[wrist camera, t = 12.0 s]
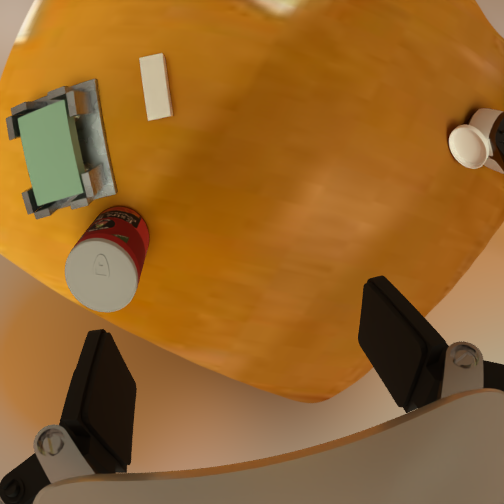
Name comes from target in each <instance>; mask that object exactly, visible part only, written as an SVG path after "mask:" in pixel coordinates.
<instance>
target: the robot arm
mask: <svg viewBox="0 0 504 504" xmlns="http://www.w3.org/2000/svg"><path fill="white" fill-rule="evenodd" d="M358 341H359V344H360V346H361V348H362V349H363V351H364V353H365V354H366V356H367V357H368V359H369V360H370V362H371V364H372V365H373V367H374V368H375V370H376V371H377V373H378V374H379V376H380V378H381V379H382V381H383V382H384V384H385V386H386V387H387V389H388V391H389V392H390V394H391V395H392V397H393V399H394V400H395V402H396V404H397V405H398V406H399V407H403V408H404V410H405V412H406V413H407V414H405V415H402V416H400V417H397V418H395V419H392V420H390V421H387V422H385V423H382V424H380V425H377V426H375V427H372V428H369V429H366V430H363V431H361V432H358V433H355V434H352V435H349V436H346V437H343V438H340V439H337V440H333V441H330V442H327V443H324V444H320V445H317V446H313V447H310V448H306V449H302V450H298V451H295V452H290V453H286V454H282V455H278V456H273V457H269V458H264V459H259V460H253V461H248V462H243V463H237V464H231V465H224V466H217V467H210V468H201V469H192V470H181V471H168V472H151V473H126V472H127V465H130V463H131V451H132V435H133V422H134V410H135V399H136V383H135V381H134V379H133V377H132V375H131V373H130V372H129V370H128V368H127V366H126V364H125V362H124V360H123V358H122V356H121V354H120V352H119V350H118V348H117V346H116V344H115V342H114V340H113V338H112V335H111V334H110V333H106V331H105V330H104V329H100V330H93V331H89V332H88V334H87V337H86V340H85V343H84V346H83V349H82V352H81V355H80V358H79V361H78V364H77V367H76V369H75V371H74V373H73V376H72V380H71V383H70V387H69V390H68V393H67V397H66V401H65V404H64V408H63V412H62V416H61V419H60V423H59V425H48V426H46V427H44V428H43V429H41V430H40V431H39V432H38V434H37V435H36V437H35V440H34V451H35V453H34V454H33V455H32V456H30V457H29V458H28V459H27V460H25V461H24V462H23V463H22V464H20V465H19V466H17V467H16V468H15V469H13V470H12V471H11V472H9V473H8V474H7V475H6V476H5V477H4V478H3V479H2V480H1V483H0V504H504V365H503V364H498V363H494V362H489V361H484V360H483V356H482V353H481V352H480V350H479V349H478V348H477V347H476V346H474V345H473V344H471V343H467V342H456V343H453V344H451V345H450V346H448V345H447V344H446V341H445V340H444V339H443V338H442V337H441V335H440V334H439V333H438V332H437V331H436V330H435V329H434V328H433V327H432V326H431V324H430V323H429V322H428V321H427V320H426V319H425V318H424V317H423V316H422V315H421V314H420V313H419V312H418V310H417V309H416V308H415V307H414V306H413V305H412V304H411V303H410V302H409V301H408V300H407V299H406V298H405V297H404V296H403V295H402V294H401V293H400V292H399V291H398V290H397V289H396V288H395V287H394V286H393V285H392V284H391V283H390V282H389V281H388V280H387V279H386V278H385V277H384V276H378V277H374V278H370V279H368V281H367V283H366V284H364V288H363V299H362V309H361V318H360V326H359V334H358ZM417 408H418V409H417ZM415 409H416V410H415ZM412 410H415V411H412ZM410 411H412V412H410ZM408 412H409V413H408ZM116 472H118V473H116Z"/></svg>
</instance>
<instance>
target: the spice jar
mask: <svg viewBox="0 0 504 504" xmlns="http://www.w3.org/2000/svg"><path fill="white" fill-rule="evenodd" d="M449 147H450V150H451V153H452V154H453V156H454V157H455V159H456V160H457V161H458V162H459V163H460V164H462V165H463V166H465V167H468V168H472V169H475V168H479V167H481V166H482V165H484V166H486V167H488V168H490V169H493V170H495V171H498V172H500V173H503V174H504V112H503V111H499V110H493V109H487V108H482V109H479V110H477V111H476V112H475V113H474V114H473V115H472V116H471V118H470V119H469V121H468V123H467V125H465V124H464V125H460V126H457V127H456V128H455V129H454V130H453V131H452V132H451V134H450V137H449Z"/></svg>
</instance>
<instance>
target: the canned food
mask: <svg viewBox="0 0 504 504" xmlns="http://www.w3.org/2000/svg"><path fill="white" fill-rule="evenodd" d="M148 245H149V233H148V229H147V226H146V224H145V222H144V220H143V219H142V217H141V216H140V215H139V214H138V213H136V212H135V211H133V210H131V209H129V208H126V207H113V208H109V209H107V210H105V211H103V212H102V213H101V214H100V215H99V216H98V217H97V218H96V219H95V220H94V222H93V223H92V224H91V225H90V227H89V228H88V229H87V230H86V232H85V233H84V234H83V236H82V237H81V238H80V239H79V241H78V242H77V243H76V245H75V246H74V248H73V249H72V250H71V252H70V254H69V256H68V258H67V261H66V265H65V277H66V282H67V285H68V287H69V289H70V291H71V293H72V294H73V295H74V296H75V298H76V299H77V300H78V301H79V302H80V303H82V304H83V305H85V306H86V307H88V308H90V309H92V310H95V311H99V312H114V311H117V310H120V309H121V308H123V307H125V306H126V305H127V304H128V303H129V302H130V301H131V300H132V298H133V296H134V294H135V292H136V289H137V286H138V283H139V279H140V275H141V271H142V268H143V264H144V260H145V256H146V253H147V249H148Z"/></svg>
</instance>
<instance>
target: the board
mask: <svg viewBox="0 0 504 504" xmlns="http://www.w3.org/2000/svg"><path fill="white" fill-rule="evenodd" d="M18 124H19V129H20V135H21V140H22V145H23V150H24V155H25V159H26V164H27V168H28V172H29V176H30V180H31V184H32V188H33V191H34V195H35V198H36V202H37V205H38V206H40V205H43V204H46V203H50V202H53V201H56V200H60V199H63V198H66V197H70V196H73V195H77V194H81V193H84V192H85V188H84V184H83V180H82V175H81V174H82V173H84V172H85V168H84V164H83V160H82V155H81V150H80V146H79V141H78V135H77V130H76V125H75V119H74V116H72V117H70V115H69V109H68V102H67V99H64V100H61V101H59V102H56V103H53V104H51V105H48V106H46V107H43V108H41V109H38V110H36V111H34V112H31V113H29V114H27V115H24V116H22V117H20V118H18Z"/></svg>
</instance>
